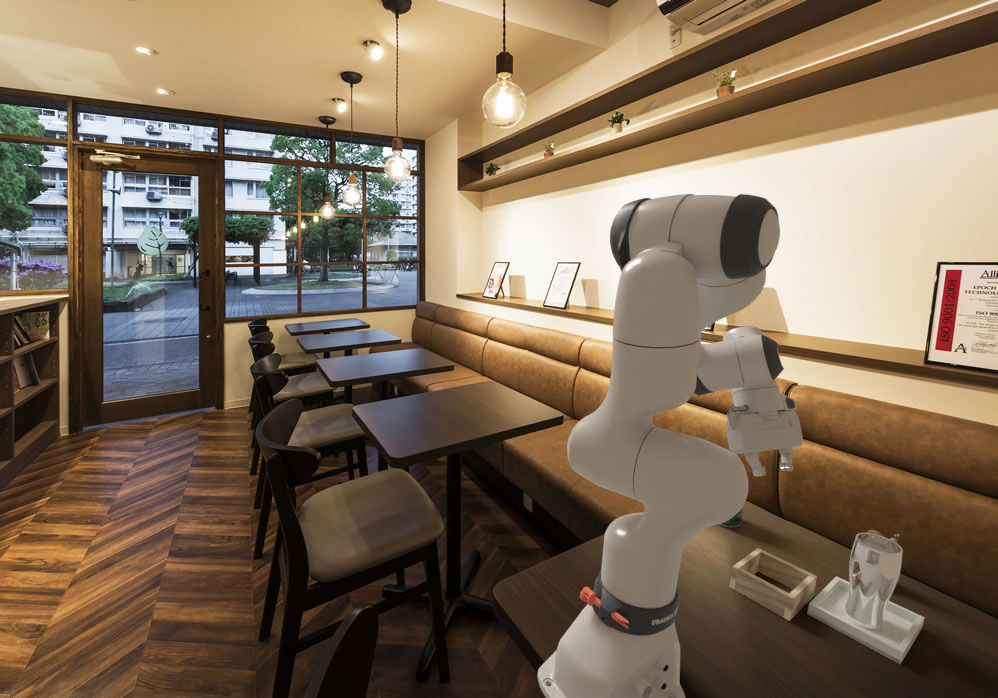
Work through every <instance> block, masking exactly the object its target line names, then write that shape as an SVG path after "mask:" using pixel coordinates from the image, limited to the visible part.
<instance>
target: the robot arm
mask: <svg viewBox="0 0 998 698" xmlns="http://www.w3.org/2000/svg"><path fill="white" fill-rule="evenodd" d="M780 226H781V225H780V219H779V214H778V210H777V208H776V207H775V206H774V205H773V203H771V202H770V200H768V199H767V198H765V197H762V196H758V195H752V194H747V193H746V194H745V193H739V194H737V195H736V196H734V195H722V194H720V195H719V194H693V193H687V194H686V193H685V194H673V195H668V196H667V195H665V196H661V197H656V198H655V197H654V198H650V197H644V198H639V199H636V200H632V201H630V202H628V203H626V204H624V205H622V206H621V208H620V209H619V210H618V212H617V213H616V215H615V216H614V219H613V221H612V223H611V226H610V227H611V228H610V232H609V245H610V250H611V253H612V256H613V258H614V260H615V262H616V265H618V267H619V269H620V277H619V281H618V285H617V290H616V296H615V303H614V310H613V321H612V326H613V327H612V352H611V368H610V369H611V371H610V377H609V379H610V381H609V386H608V389H607V393H606V395H605V398H604V400H603V401H602V402H601V404H600V405H599V407H598V408H597V409H596V410H594V411H593V412H592V413H590V414H588V415H586V416H584V417H583V418H581V419H580V420H579V421H578V422H577V423H576V424H574V427H573V428H572V430H571V432H570V434H569V436H568V438H567V447H566V451H567V453H566V454H567V459H568V462H569V466H570V467H571V469H572V471H573V472H575V473H576V474H578V475H579V476H581V477H582V478H584V479H585V480H587V481H589V482H591V483H592V484H594V485H595V486H597V487H599V488H602V489H605V490H608V491H611V492H613V493H617V494H619V495H622V496H625V497H627V498H630V499H633V500H636V501H637V502H639V503H641V504H643V507H644V511H642V512H634V513H629V514H625V515H621V516H619V517H617V518H615V519H613V521H612V522H611V523H610V524H609V525H608V527H607V529H606V530H605V532H604V534H603V535H604V536H603V547H602V548H603V549H602V558H601V559H602V560H601V569H600V570H599V571H598V575H597V577H596V579H595V582H594V587H593V588H592V589H591V588H590V587H588V586H584V587H583V588H582V589H581V591H580V592H579V593H580V594H579V598H580V600H582V601H583V602H585V603H587V604H586V605H585V607H584V608H583V609H582V610H581V611H580V613H579V614H578V616H577V617H576V618H575V620H574V621H573V622H572V624H571V625H570V626H569V628H568V629H567V630H566V631H565V633H564V634H563V635H562V637H561V638H560V640H559V642H558V644H557V648H556V649H555V651H554V652H553V653H552V654H551V655H550V656H549V657H548V658H547V659H546V660H545V661H544V662H543V663H542V665H540V667H539V668H538V670H537V682H538V684H539V688H540V690H541V692H542V694H543V695H544V697H545V698H686V695H685V692H684V690H683V687H682V686H681V685H682V684H681V683H680V678H681V677H680V673H681V646H680V645H681V644H680V641H679V637H678V634H677V633H678V632H677V629H676V625H675V621H676V618H677V616H678V615H677V614H678V611H679V603H680V600H679V590H678V587H677V586H678V579H679V572H680V567H681V562H682V558H683V555H684V551H685V549H686V548H687V546H688V544H689V542H691V540H692V539H693V538H694V537H695V536H696V535H697V534H699V533H700V532H702V531H704V530H706V529H707V528H710V527H714V526H717V525H718V524H722V523H724V522H726V521H728V520H730V519H731V518H733V517H734V516H735V515H736V514H737V513H738V512H739V511H740V510H741V508H742V507H743V508H744V504H745V503H746V500H747V497H748V493H749V477H748V473H747V470H746V467H745V465H744V463H743V461H742V460H741V458H740V457H739V455H744V458H745V460H746V462H747V463H748V464H749V466H750V467H751V470H752V475H753V476H754V477H765V476H766V475H767V472H766V466H764V465H762V463H761V462H760V459H759V458H760V452H764V451H766V452H767V451H774V450H778V453H779V454H780V455H781V457H780V461H781V462H778V463H779V464H778V465H779V467H780V471H782V472H792V471H793V470H794V466H793V456H794V450H793V447H801V446H802V445H803V441H804V439H803V437H804V436H803V432H802V427H801V423H800V419H799V416H798V414H797V412H796V411H795V410H797V409H798V405H797V402H796V400H795V399H794V398H791V397H790V396H787V395H785V394H784V393H783V392H780V388H779V384H778V382H777V381H776V379H777V378H778V377H779V376H780V374H781V373H782V372H783V371H784V370H785V368H784V365H783V364H782V361H781V358H780V354H779V350H778V347H779V343H778V342H777V341H776V340H774V339H772V338H771V337H769V336H767V335H765V334H764V333H763V332H762V329H760V328H759V327H758V326H753V325H744V326H743V325H742V326H738V327H734V328H731V329H729V330H728V331H726V332H725V333H724V334H723V336H722V340H721V341H717V342H711V343H702V332H703V331H704V330H705V329H706V328H708V327H709V326H711V325H713V324H714V323H716V322H719V321H720V320H722V319H724V318H726V317H729V316H732V315H734V314H737V313H739V312H741V311H742V310H744V309H746V308H748V306H751V304H753V302H754V301H755V300H757V298H758V297H759V296H760V295H761V293H762V292H763V289H764V287H765V284H766V278H767V268H768V267H769V266H770V264H771V263H772V261H773V258H774V256H775V253H776V251H777V249H778V246H779V243H780V236H781V228H780ZM728 390H730V391H731V397H732V402H733V406H730V407H729V410H728V411H727V412H726V416H727V417H726V421H725V422H726V423H725V425H726V427H725V428H726V435H727V442H728V443H727V444H728V448H729V449H726V448H725V447H723V446H720V445H718V444H716V443H714V442H711V441H709V440H708V439H707V440H706V438H705V439H704V438H703V437H697V436H693V435H689V434H686V433H682V432H678V431H673V430H670V429H666V428H662V427H660V426H656V425H655V424H654V421H653V418H654V417H653V416H654V415H656V414H661V413H666V412H670V411H672V410H674V409H677V408H680V407H681V406H683V405H685V404H686V403H688V401H689V400H691V397H693V395H697V396H703V395H708V394H712V393H715V392H720V391H728Z"/></svg>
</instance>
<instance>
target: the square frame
mask: <svg viewBox="0 0 998 698" xmlns="http://www.w3.org/2000/svg"><path fill="white" fill-rule="evenodd" d="M757 573H760V574H762V575H764V576H765V577H768V578H770V579H772V580H774V581H775V582H778V583H779V584H782V585H783V586H786V587H787V588H789V589H791V591H790V592H787V591H785V590H784V589H782V588H780V587H778V586H776V585H775V584H772V583H770V582H769V581H766V580H764V579H762V578H761V577H759V576H757V575H755V574H757ZM817 579H818V576H817V575H816V574H813V573H812V572H810V571H807V570H806V569H803V568H801V567H799V566H796V565H794V564H793V563H791V562H789V561H786V560H785V559H783V558H780V557H778V556H776V555H774V554H772V553H769V552H767V551H766V550H764V549H761V548H759V547H758V548H756V549H754V550H753V551H751V552H750V553H749V554H748V555H746V556H745V557H744V558H742V559H740V560H739V561H738V562H736V563H735V564H733V565H732V566H731V572H730V579H729V588H730V589H732V590H734V591H736V592H737V593H738V594H741V595H742V596H744V595H745V596H744V597H746V596H747V597H746V598H748V599H749V600H751V601H753V602H755V603H757V604H759V605H760V606H762V607H764V608H766V609H768V610H769V611H771V612H773V613H775V614H776V615H778V616H780V617H782V618H783V619H785V620H787V621H789V622H790V621H791V620H792V619H793V618H794V617H795V616H796V615H797V614H798V613H799V612H800V611H801V610H802V609H803V608H804V607H805V606H806V605H807V604H809V603H810V602H811V601H812V600H813V599H814V596H815V592H816V586H817V585H816V584H817Z"/></svg>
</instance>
